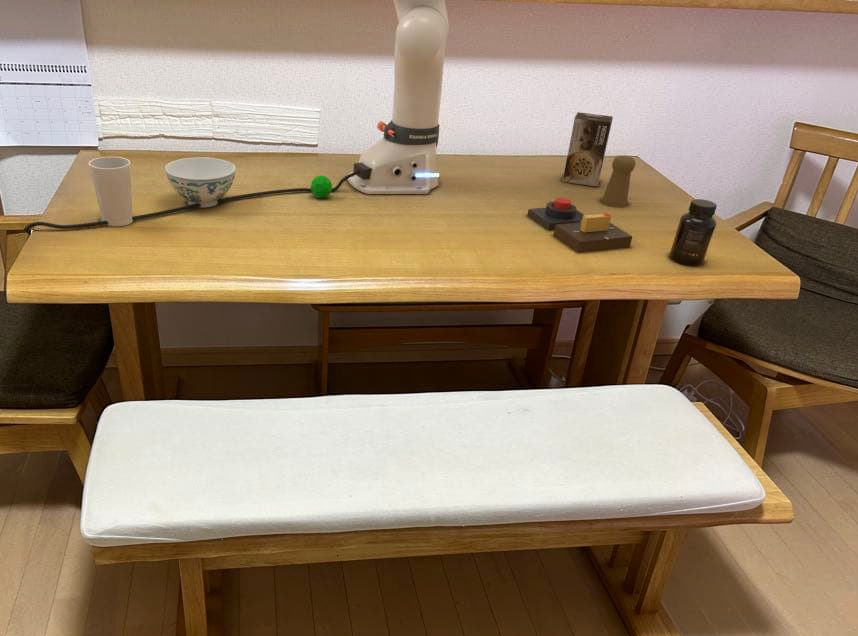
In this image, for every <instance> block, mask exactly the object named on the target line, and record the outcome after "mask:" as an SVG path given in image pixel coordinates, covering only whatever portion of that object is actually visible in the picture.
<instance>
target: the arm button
mask: <svg viewBox="0 0 858 636" xmlns="http://www.w3.org/2000/svg"><path fill="white" fill-rule="evenodd" d="M553 202H554V205H553V207H554V208H557V209H562V210H569V209H570V204H572V201H571V200H570V199H569V198H565V197H556V198H554V201H553Z"/></svg>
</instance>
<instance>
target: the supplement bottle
mask: <svg viewBox="0 0 858 636" xmlns="http://www.w3.org/2000/svg"><path fill="white" fill-rule="evenodd" d="M716 210H717V204H716V203H715V202H713V201H711V200H708V199H702V198H696V199H692V200H691V201H690V204H689V206H688V211H687V212H685V213H683V214H682V215H681V216H680V219H679V222H678V225H677V229H676V231H675V235H674V238H673V241H672V245H671V248H670V252H669V257H670V259H671V260H673V261H674V262H676V263H677V264H679V265H684V266H693V267H695V266H700V265H702V264H703V263H704V261H705V259H706V257H707V253H708V250H709V248H710V245H711V242H712V239H713V236H714V232H715V231H716V228H717V227H716V226H717V220H716V218H715V217H714V216H715V214H716Z"/></svg>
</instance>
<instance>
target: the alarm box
mask: <svg viewBox="0 0 858 636" xmlns="http://www.w3.org/2000/svg"><path fill="white" fill-rule="evenodd" d="M553 205H554V201H548V202H547V203H546V206H545V207H536V208H535V207H534V208H528V209H527V216H526V217H528V218H530V219H531V220H533V222H535V223H536V224H538V225H540V226H541V227H543V228H544V229H545V230H547V231H554V230H555V225H558V224H569V223H579V221H582V218H583V215H585V214H584V213H582V212H581V211H579V210H578V208H577V206H576V205H574V204H573V203H571V204H570V209H569V210H562V209H557V208H554V207H553Z"/></svg>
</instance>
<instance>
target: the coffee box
mask: <svg viewBox="0 0 858 636" xmlns="http://www.w3.org/2000/svg"><path fill="white" fill-rule="evenodd" d="M613 120H614V116H613V115H612V116H611V115H605V114H596V113H590V112H589V113H588V112H580V111H578V112H576V114H575V116H574V119H573V124H572V130H571V135H570V141H569V145H568V150H567V156H566V161H565V166H564V170H563V175H562V180H561V182H563V183H570V184H576V185H584V186H589V187H598V186H599V182H600V179H601V174H602V169H603V164H604V159H605V156H606V150H607V147H608V142H609V138H610V132H611V129H612V123H613Z"/></svg>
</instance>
